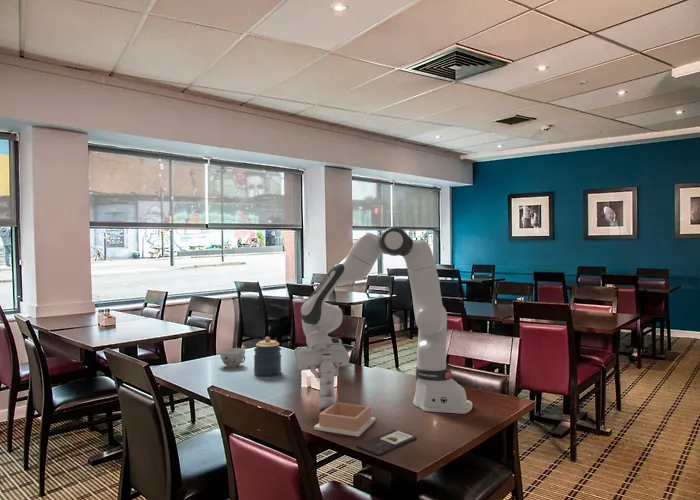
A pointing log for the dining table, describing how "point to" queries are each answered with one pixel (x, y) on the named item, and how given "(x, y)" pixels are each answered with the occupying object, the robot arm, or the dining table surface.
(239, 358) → the teacup
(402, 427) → the dining table surface
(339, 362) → the robot arm
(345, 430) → the open square box
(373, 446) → the chocolate bar
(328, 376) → the plastic bottle
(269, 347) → the canister
